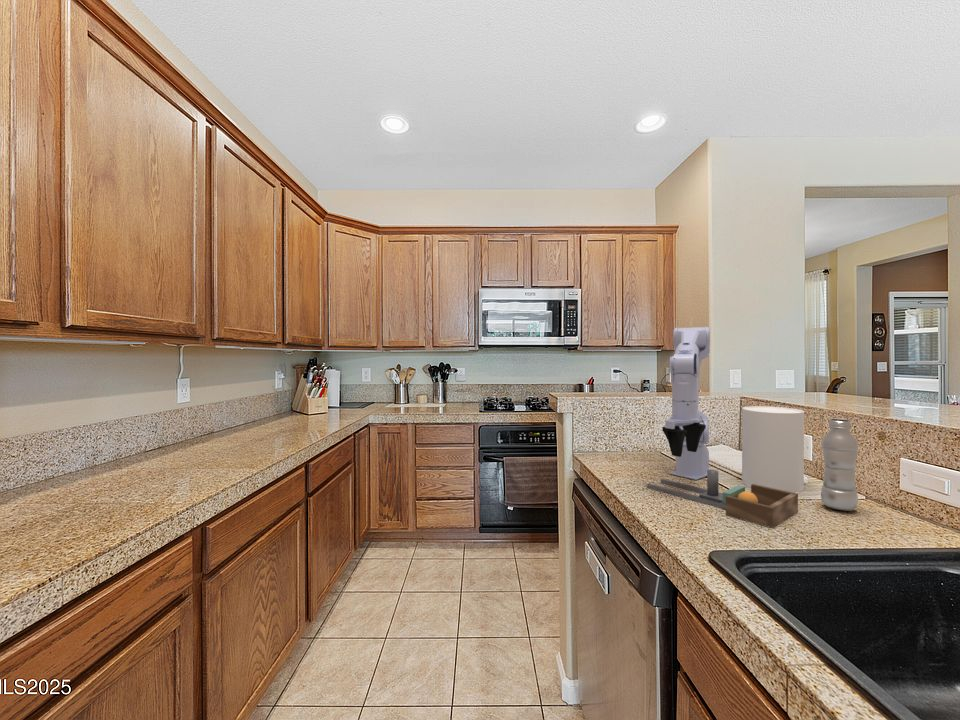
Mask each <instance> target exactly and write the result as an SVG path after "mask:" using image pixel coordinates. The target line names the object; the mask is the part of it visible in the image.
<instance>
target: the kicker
mask: <svg viewBox="0 0 960 720" xmlns="http://www.w3.org/2000/svg"><path fill="white" fill-rule="evenodd" d="M719 474H720V473H719V470H717V469H716V470H715V469H709V470H707V476H706V490H707V491H706V492H704V493H699V494H698V496H699V497H702V498H706V499H710V500H714V501H718V502H721V503H725V504H726V496H732V497H736V498H737V497H738V495H739V494H740V493H741V492H744V491H746V486H743V485H740V484H738V485H736V486H733V487H731V488H729V489H727V490H725V491H722V492H720V491H719V487H720V486H719V485H720V484H719Z"/></svg>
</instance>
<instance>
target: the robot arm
mask: <svg viewBox="0 0 960 720" xmlns="http://www.w3.org/2000/svg"><path fill="white" fill-rule="evenodd" d="M672 336H673V337H672V340H673V342H672V343H673V349H674V354H673V355H671V356H670V357H669V372H670V383H671V384H672V385H671V417H669V418H668V419H666V420H665V423H664V425H665V426H662V427H661V428H662V432H663V433H664V435H665V437H666V439H667V442H668V445H669V449H670V452H671V456H672V457H673V456H674V457H675V470H672V471H669V472H668V473H669V474H670V475H673V476H676V477H677V476H678V477H682V478H687V479H691V480H695V481H697V480H700V479H702V478H705V477H706V478H707V470H710V451H709V448H708V447H707V446H706V445H707V444H708V443H709V441H710V440H709V439H710V425H709V418H708V415H706V414H705V413H703V412H702V411H700V410H699V403H700V402H699V400H700V399H699V397H700V394H699V393H700V367H701V365H702V363H703V362H702V361H703V360H705V359H707V358H708V357H709V354H710V350H711V349H710V347H711V328H710V327H709V326H703V327H702V326H701V327H700V326H698V327H696V326H695V327H675V328H674V329H673V335H672Z"/></svg>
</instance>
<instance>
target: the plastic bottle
mask: <svg viewBox="0 0 960 720" xmlns="http://www.w3.org/2000/svg"><path fill="white" fill-rule="evenodd" d="M828 423H829V424H828V428H829V429H830V430H829V431H827V432H826V434H825V435H824V436H823V438H822V439H821V450H822V455H823V456H822V457H823V465H824V468H823V469H824V472H823V481H822V482H823V483H822V485H821V490H820V498H821V502H822V503H823V505H824V506H825V507H827V508H830V509H833V510H838V511H845V512H853V511H854V510H855V509H856V508H858V504H859V496H858V492H857V487H856V477H855V475H856V471H855V470H856V462H857V457H858V452H859V443H858V441H857V439H856V438H855V436H854V435H853V434H852V433H851V432H850V430H852V427H851V420H849V419H843V418H830V419H829V422H828Z"/></svg>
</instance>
